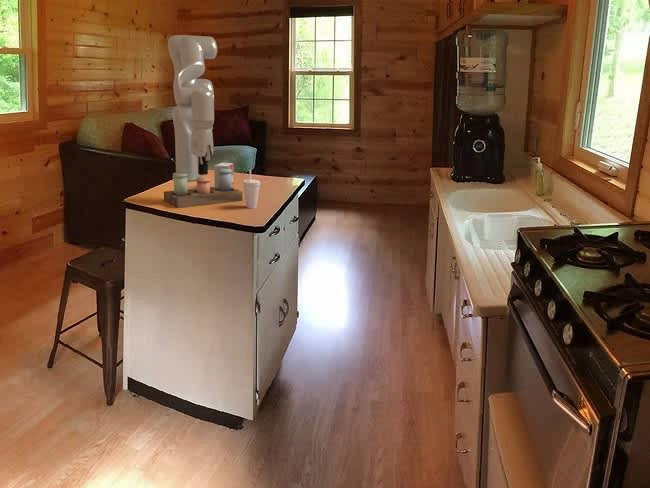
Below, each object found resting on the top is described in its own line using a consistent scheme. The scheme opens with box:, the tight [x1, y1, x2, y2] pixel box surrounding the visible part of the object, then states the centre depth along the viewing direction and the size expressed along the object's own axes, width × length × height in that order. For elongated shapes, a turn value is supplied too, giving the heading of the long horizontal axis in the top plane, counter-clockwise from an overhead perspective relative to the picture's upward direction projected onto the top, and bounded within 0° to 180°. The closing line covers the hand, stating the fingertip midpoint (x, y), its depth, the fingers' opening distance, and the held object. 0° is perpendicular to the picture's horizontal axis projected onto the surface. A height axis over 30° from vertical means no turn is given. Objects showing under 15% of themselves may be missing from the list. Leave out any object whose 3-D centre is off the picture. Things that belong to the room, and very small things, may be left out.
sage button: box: [172, 171, 189, 196], centre depth 228 cm, size 5×5×8 cm
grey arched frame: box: [213, 162, 235, 189], centre depth 254 cm, size 8×6×10 cm
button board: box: [163, 186, 243, 209], centre depth 235 cm, size 13×26×3 cm, turn 127°
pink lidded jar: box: [195, 176, 212, 194], centre depth 234 cm, size 5×5×8 cm
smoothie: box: [242, 168, 261, 209], centre depth 227 cm, size 6×6×14 cm
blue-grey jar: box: [218, 169, 232, 191], centre depth 239 cm, size 5×5×8 cm
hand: (203, 174), depth 233 cm, fingers closed
